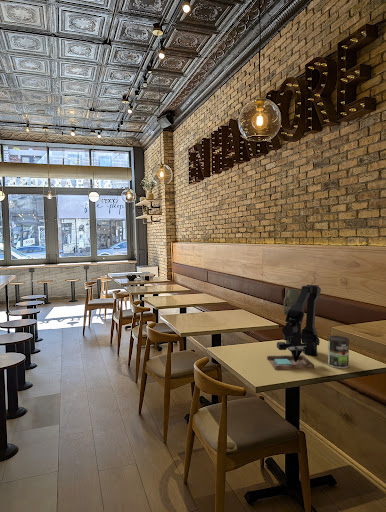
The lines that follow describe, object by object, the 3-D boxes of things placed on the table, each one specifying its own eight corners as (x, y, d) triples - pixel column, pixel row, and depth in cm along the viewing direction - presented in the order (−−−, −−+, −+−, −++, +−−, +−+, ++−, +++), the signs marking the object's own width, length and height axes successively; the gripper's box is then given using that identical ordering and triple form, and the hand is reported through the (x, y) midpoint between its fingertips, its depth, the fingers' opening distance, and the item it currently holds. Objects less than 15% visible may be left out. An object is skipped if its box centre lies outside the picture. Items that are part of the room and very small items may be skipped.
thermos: (305, 348, 224) (306, 290, 223) (287, 349, 223) (287, 290, 221) (299, 344, 233) (299, 288, 231) (281, 345, 231) (281, 288, 229)
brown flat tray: (303, 359, 205) (303, 354, 205) (314, 369, 189) (314, 365, 189) (266, 360, 204) (267, 355, 204) (274, 370, 188) (274, 365, 188)
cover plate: (287, 361, 200) (287, 358, 200) (292, 366, 192) (292, 363, 192) (274, 361, 200) (274, 359, 200) (278, 366, 192) (278, 364, 192)
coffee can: (352, 367, 191) (353, 340, 191) (334, 369, 190) (334, 341, 189) (341, 361, 201) (342, 335, 201) (323, 362, 200) (324, 336, 199)
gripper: (307, 328, 204) (307, 356, 205) (273, 328, 203) (273, 357, 204) (315, 333, 193) (315, 363, 194) (279, 334, 192) (279, 364, 193)
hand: (295, 361), depth 196 cm, fingers closed
